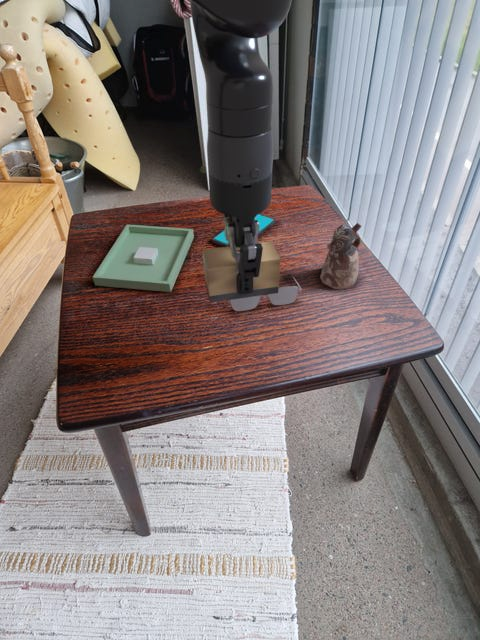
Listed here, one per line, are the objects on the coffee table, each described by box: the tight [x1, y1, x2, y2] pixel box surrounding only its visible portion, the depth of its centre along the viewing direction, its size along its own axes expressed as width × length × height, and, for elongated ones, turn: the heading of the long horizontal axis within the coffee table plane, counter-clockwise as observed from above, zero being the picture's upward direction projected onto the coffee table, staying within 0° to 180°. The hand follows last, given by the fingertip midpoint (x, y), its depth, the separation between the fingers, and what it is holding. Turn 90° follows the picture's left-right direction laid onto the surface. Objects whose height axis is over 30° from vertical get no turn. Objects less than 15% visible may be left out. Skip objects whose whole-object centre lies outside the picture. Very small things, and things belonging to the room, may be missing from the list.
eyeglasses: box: [226, 273, 302, 312], centre depth 80 cm, size 14×8×4 cm, turn 102°
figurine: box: [319, 222, 362, 290], centre depth 80 cm, size 7×7×12 cm
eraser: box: [202, 240, 282, 303], centre depth 59 cm, size 10×4×6 cm, turn 102°
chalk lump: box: [133, 247, 158, 265], centre depth 88 cm, size 4×4×2 cm
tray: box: [92, 224, 195, 293], centre depth 89 cm, size 16×20×2 cm
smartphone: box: [211, 213, 276, 247], centre depth 96 cm, size 7×1×15 cm
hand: (241, 280), depth 61 cm, fingers closed on eraser, 4 cm apart
